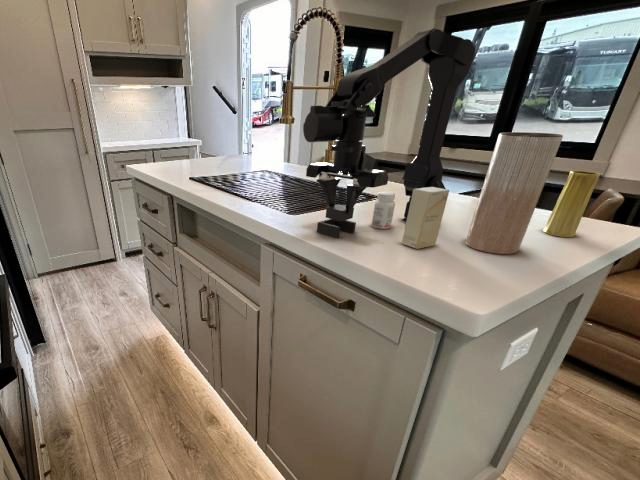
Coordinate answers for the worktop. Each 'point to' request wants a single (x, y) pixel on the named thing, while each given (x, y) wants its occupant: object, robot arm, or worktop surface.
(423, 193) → the cosmetic box
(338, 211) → the loose pad
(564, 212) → the vase
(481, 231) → the planter
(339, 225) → the dark grey u-shaped bracket
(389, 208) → the pill bottle
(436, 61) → the robot arm
